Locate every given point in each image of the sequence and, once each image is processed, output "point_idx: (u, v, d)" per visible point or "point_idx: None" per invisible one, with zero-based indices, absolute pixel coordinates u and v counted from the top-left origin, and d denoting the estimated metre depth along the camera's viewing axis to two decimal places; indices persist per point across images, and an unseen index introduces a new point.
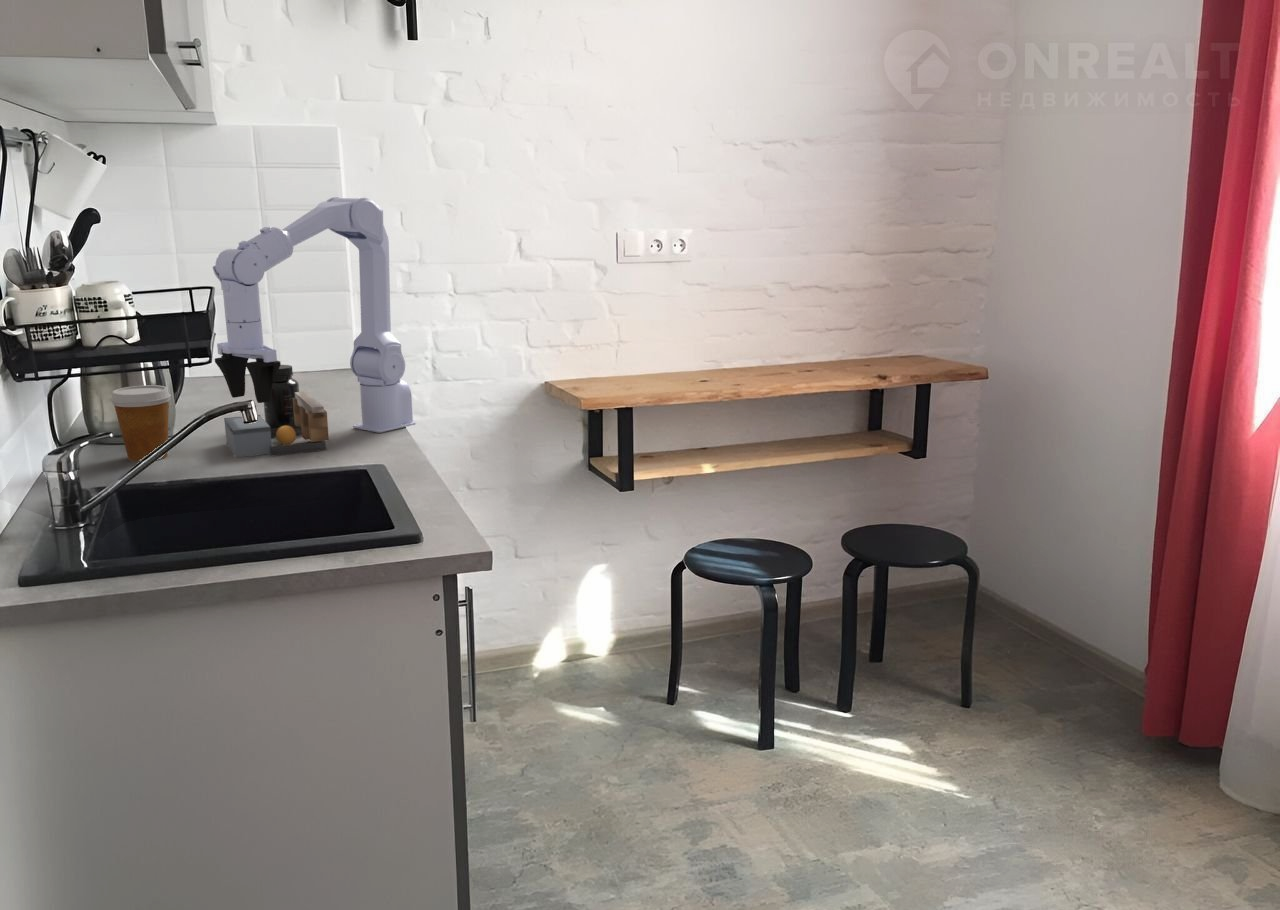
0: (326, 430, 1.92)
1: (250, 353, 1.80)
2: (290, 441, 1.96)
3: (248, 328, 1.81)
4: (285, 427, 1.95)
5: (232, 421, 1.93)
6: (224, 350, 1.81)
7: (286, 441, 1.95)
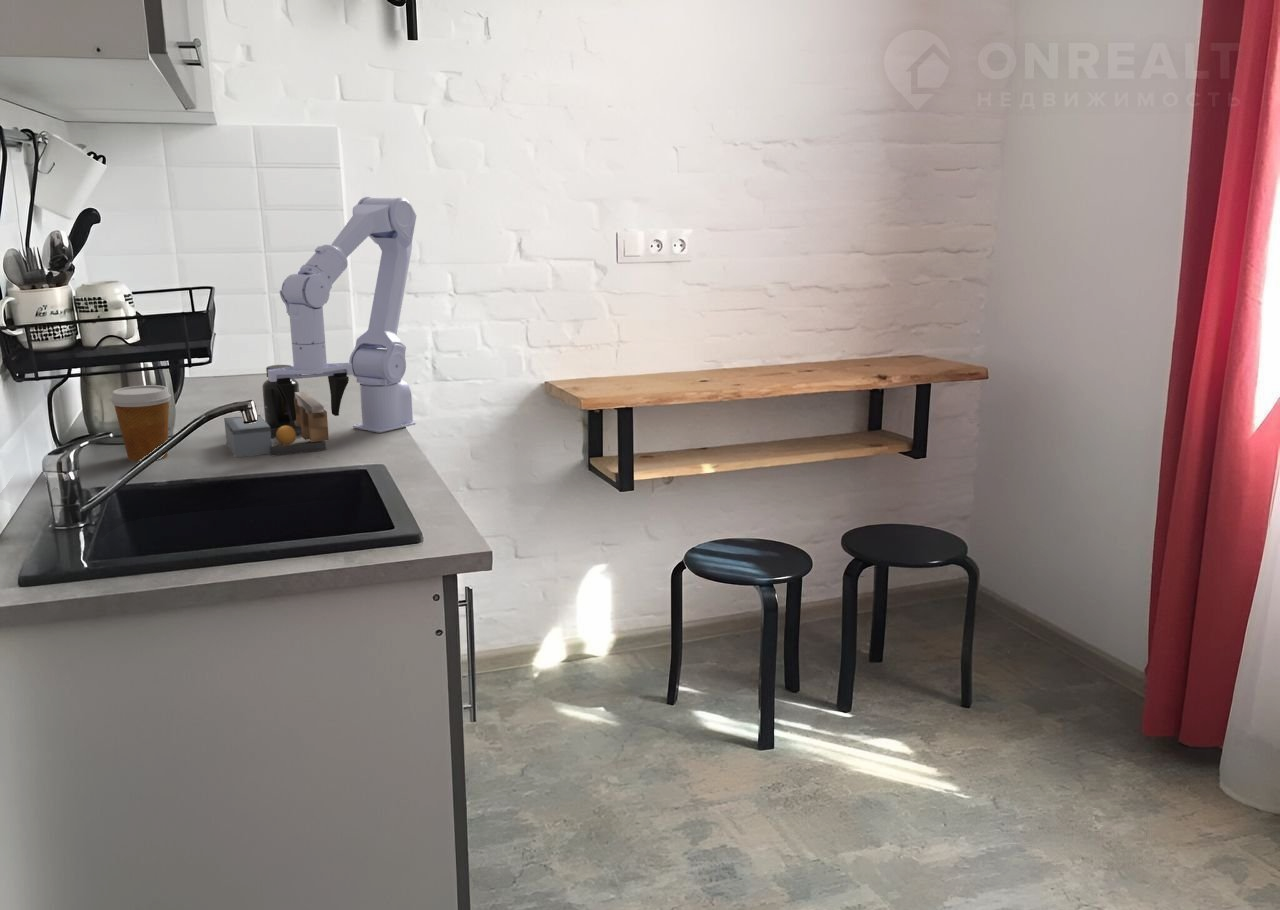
0: (326, 430, 1.92)
1: None
2: (290, 441, 1.96)
3: None
4: (285, 427, 1.95)
5: (232, 421, 1.93)
6: None
7: (286, 441, 1.95)
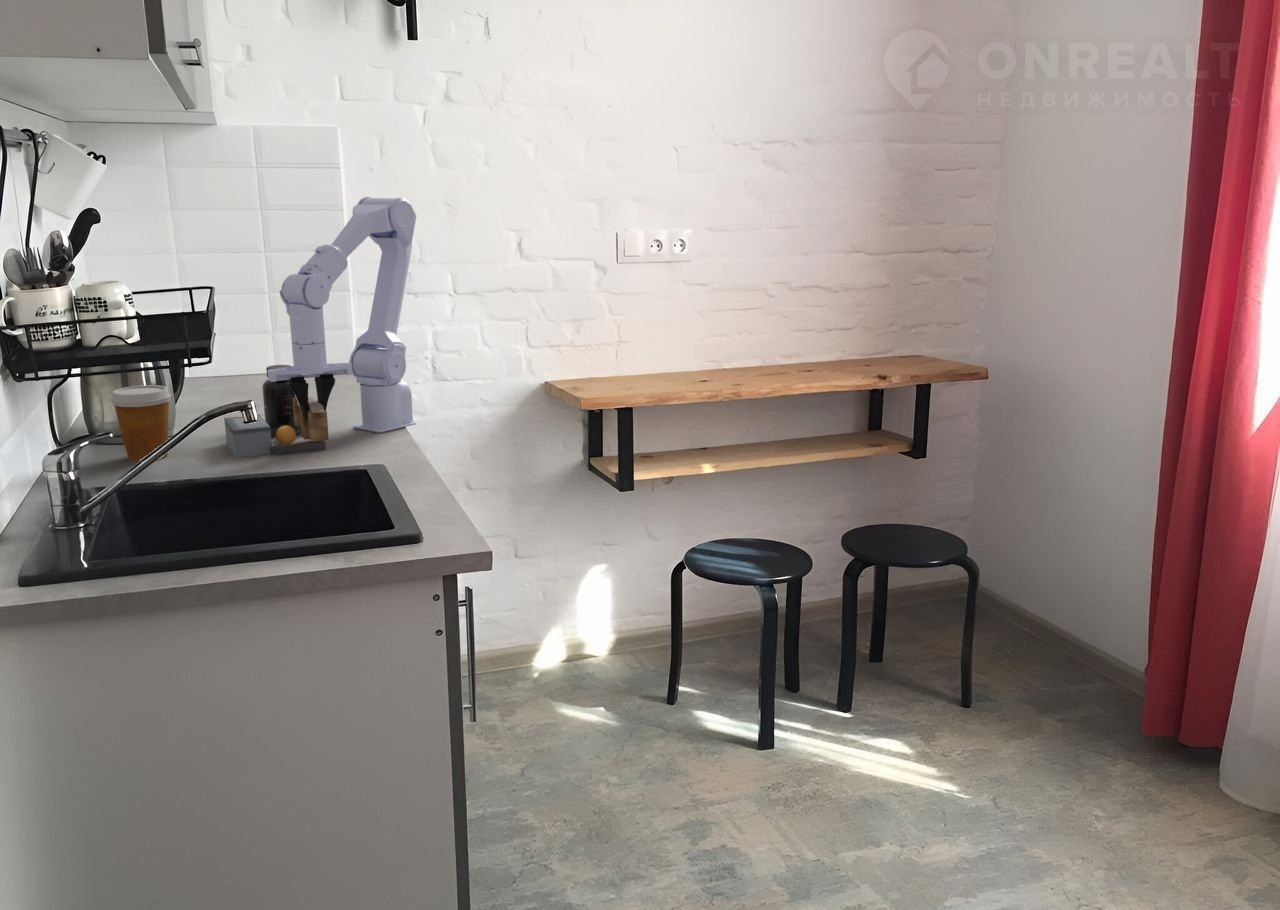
0: (326, 430, 1.92)
1: None
2: (290, 441, 1.96)
3: (292, 348, 1.90)
4: (285, 427, 1.95)
5: (232, 421, 1.93)
6: None
7: (286, 441, 1.95)
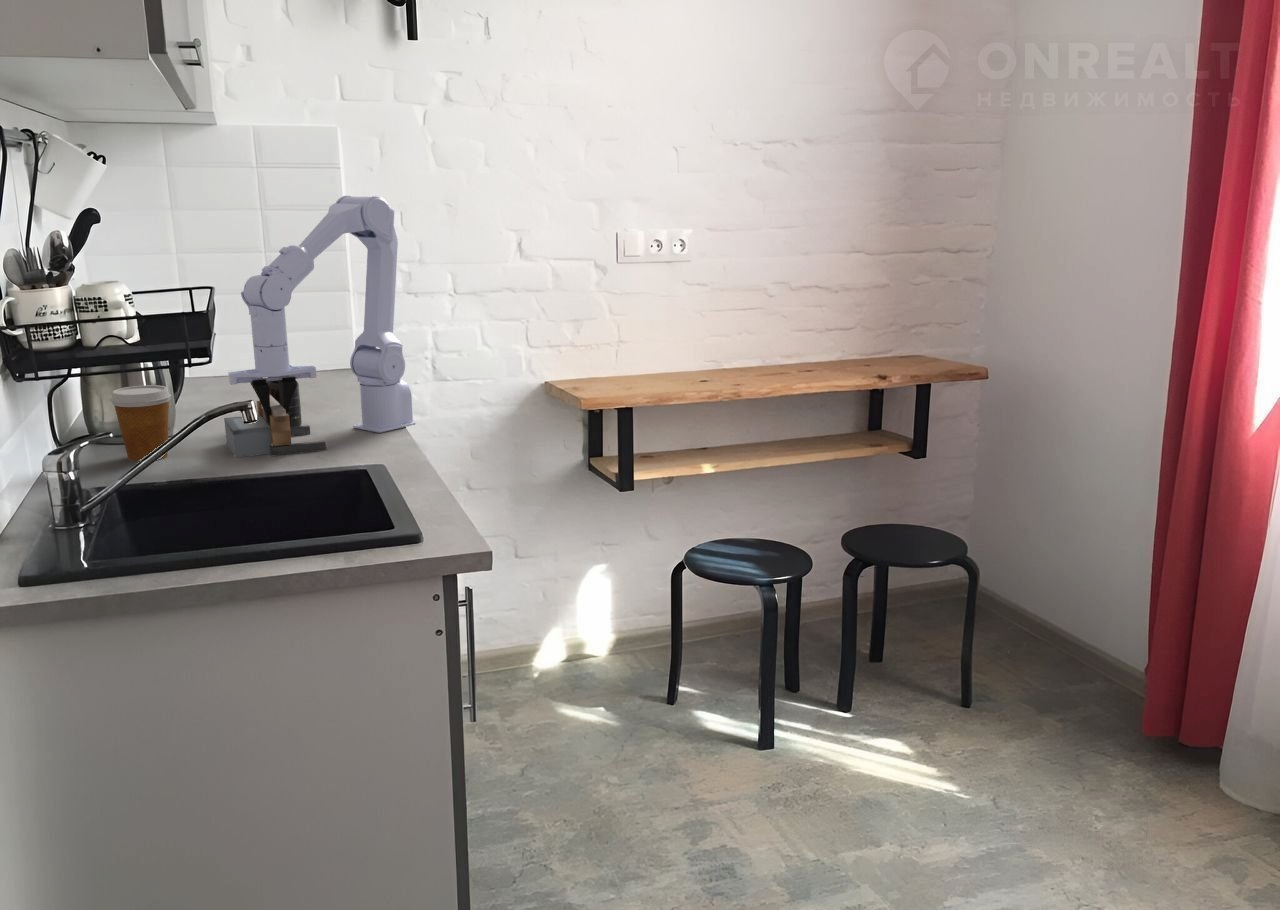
0: (288, 434, 1.89)
1: None
2: None
3: None
4: None
5: (232, 421, 1.93)
6: None
7: None
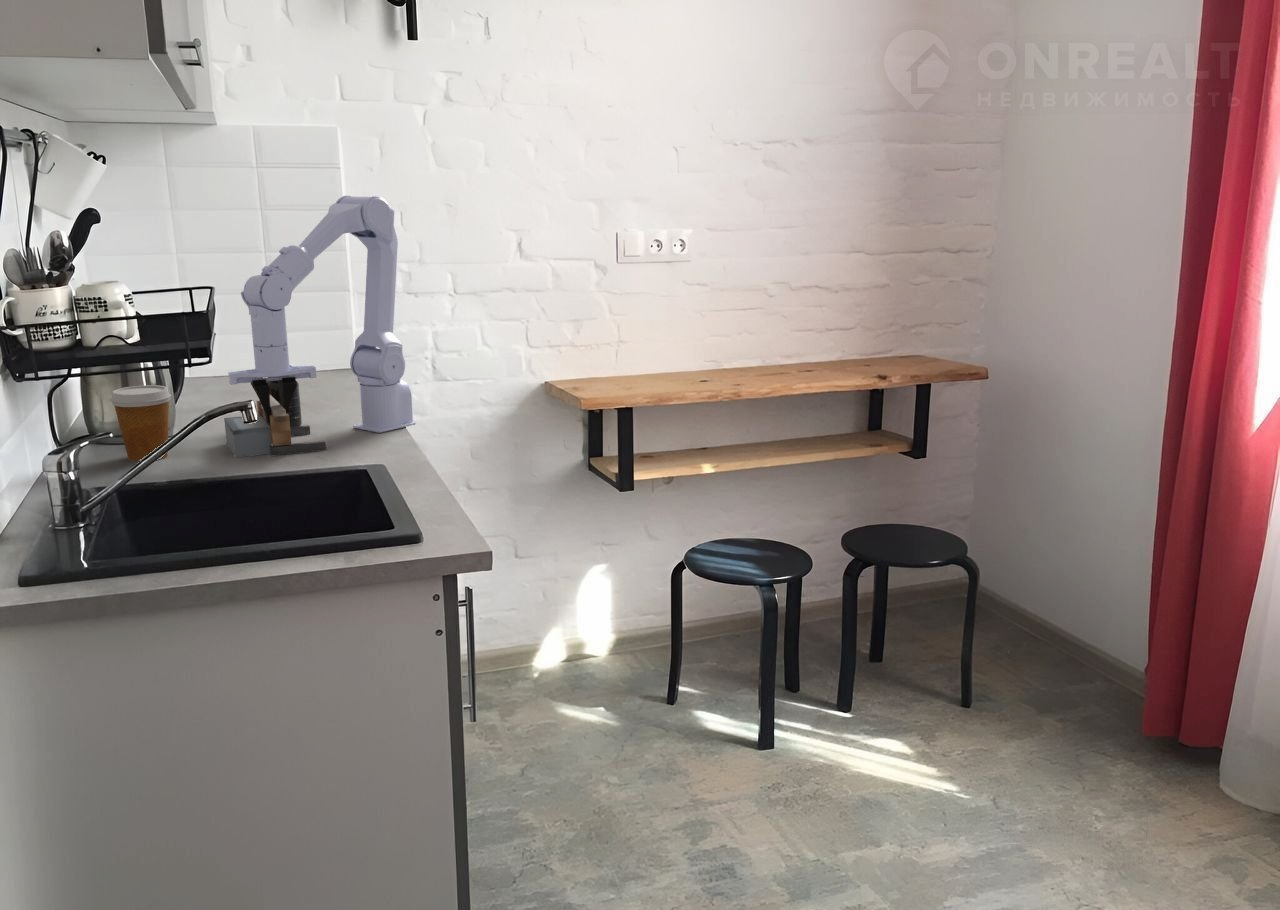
0: (288, 434, 1.89)
1: None
2: None
3: None
4: None
5: (232, 421, 1.93)
6: None
7: None
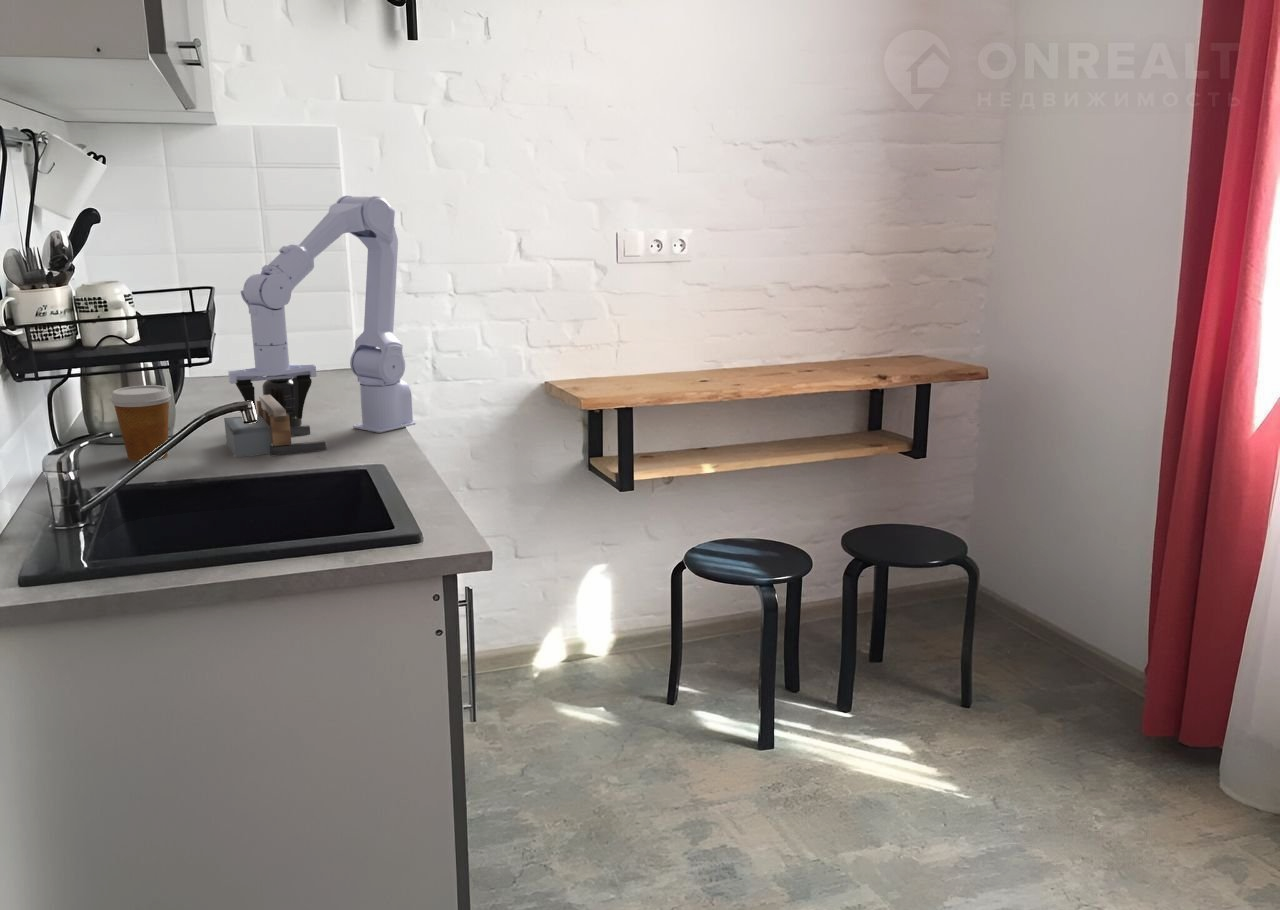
0: (288, 434, 1.89)
1: None
2: None
3: None
4: None
5: (232, 421, 1.93)
6: None
7: None
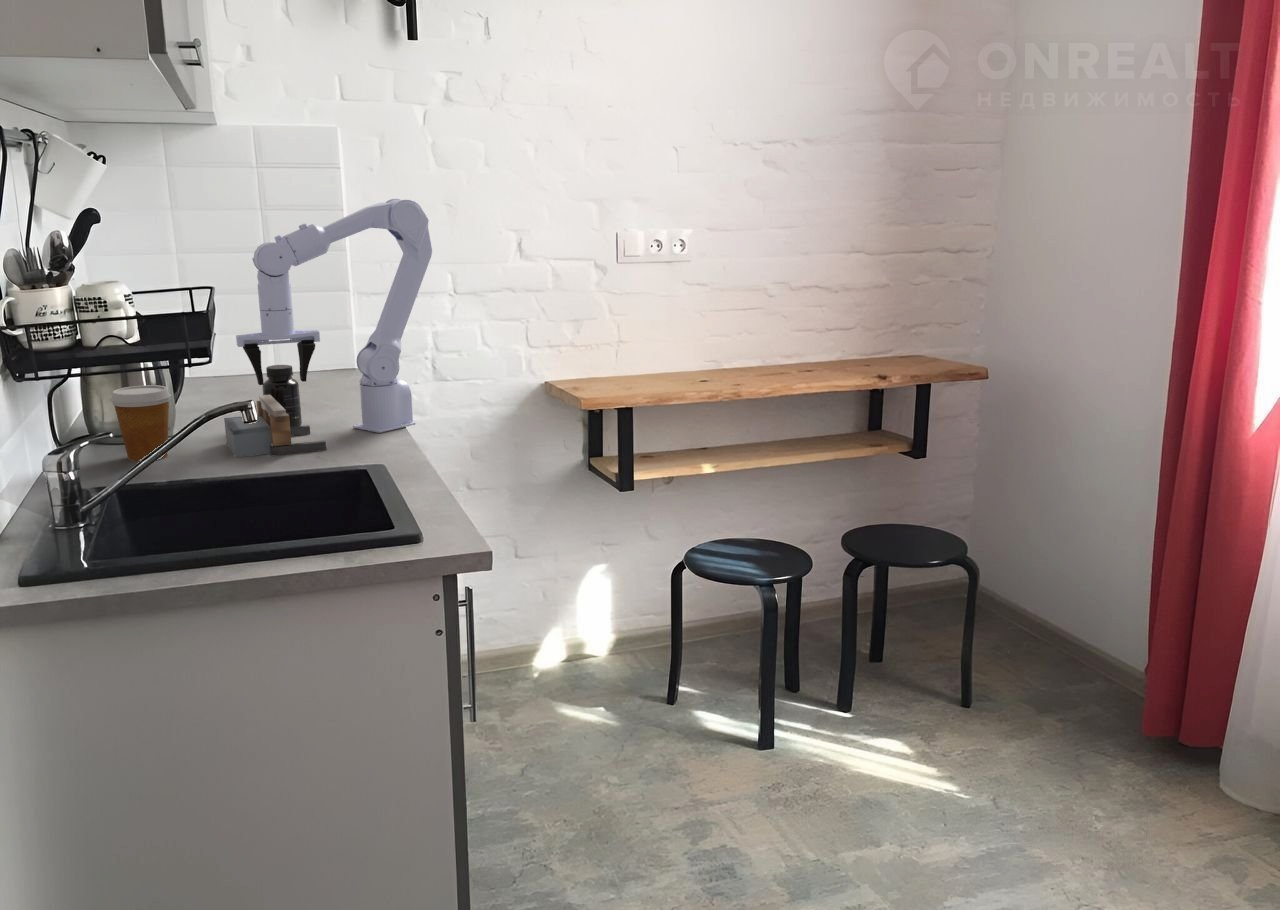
0: (288, 434, 1.89)
1: None
2: None
3: None
4: None
5: (232, 421, 1.93)
6: None
7: None
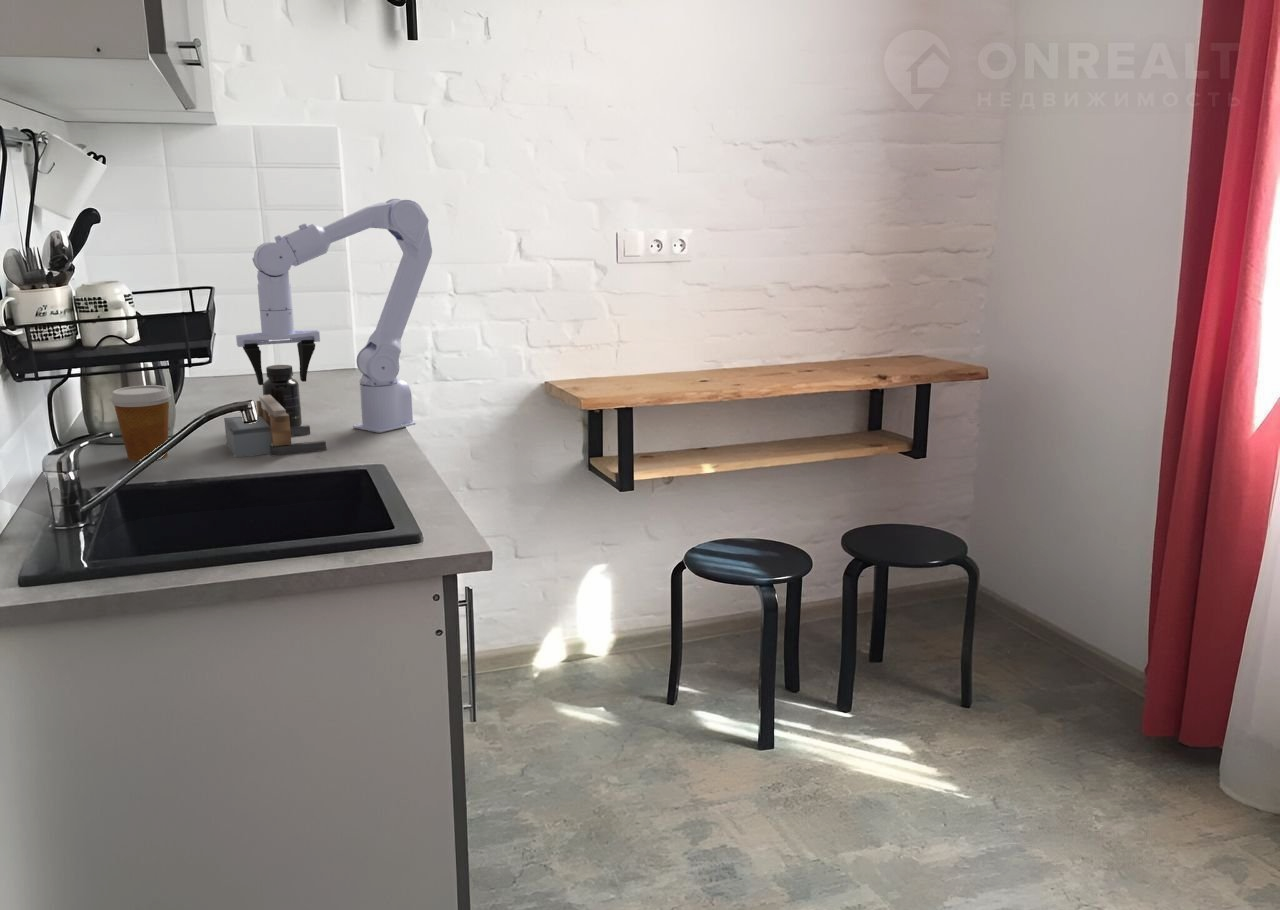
0: (288, 434, 1.89)
1: None
2: None
3: None
4: None
5: (232, 421, 1.93)
6: None
7: None
